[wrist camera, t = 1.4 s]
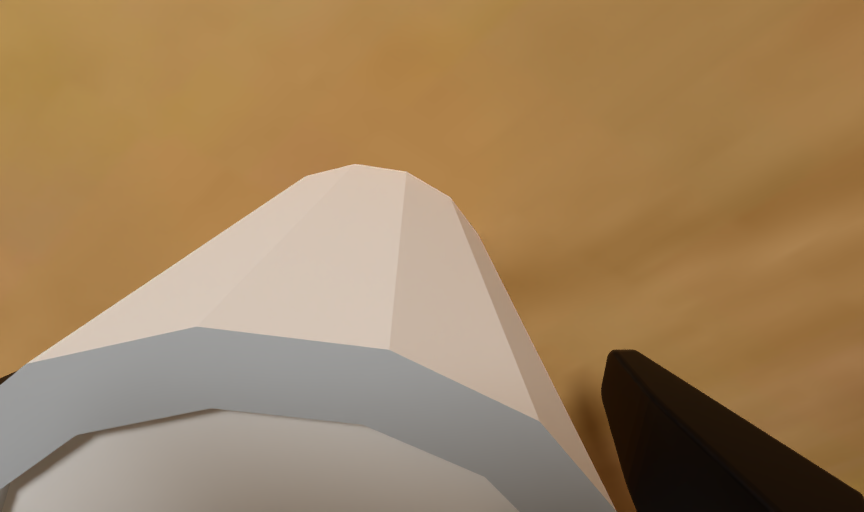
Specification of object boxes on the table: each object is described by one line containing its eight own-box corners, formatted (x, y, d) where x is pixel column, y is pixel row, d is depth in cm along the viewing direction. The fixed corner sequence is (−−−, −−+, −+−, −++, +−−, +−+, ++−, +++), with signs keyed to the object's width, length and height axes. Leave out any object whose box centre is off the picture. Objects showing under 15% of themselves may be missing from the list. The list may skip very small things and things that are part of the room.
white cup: (573, 272, 11) (778, 607, 4) (386, 430, 13) (345, 805, 7) (342, 58, 9) (111, 118, 2) (166, 288, 11) (-193, 635, 5)
